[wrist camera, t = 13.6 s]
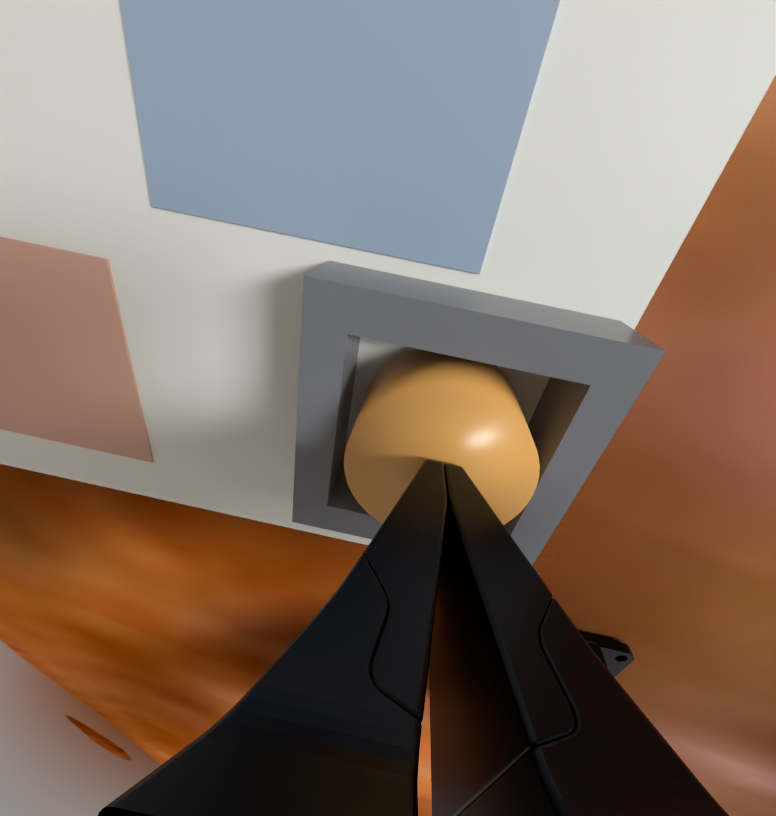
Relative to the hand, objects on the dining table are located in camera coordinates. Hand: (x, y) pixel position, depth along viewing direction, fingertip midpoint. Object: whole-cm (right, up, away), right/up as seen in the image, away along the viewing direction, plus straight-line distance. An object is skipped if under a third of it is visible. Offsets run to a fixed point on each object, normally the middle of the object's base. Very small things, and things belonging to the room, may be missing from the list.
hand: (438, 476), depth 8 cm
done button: (0, +1, +2) cm, 2 cm away
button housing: (0, +1, +2) cm, 3 cm away
